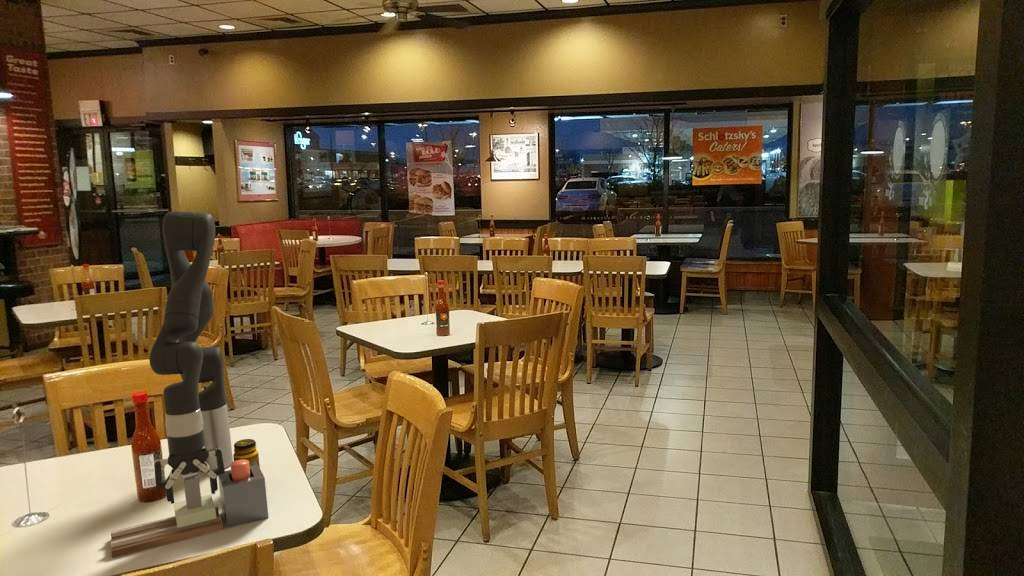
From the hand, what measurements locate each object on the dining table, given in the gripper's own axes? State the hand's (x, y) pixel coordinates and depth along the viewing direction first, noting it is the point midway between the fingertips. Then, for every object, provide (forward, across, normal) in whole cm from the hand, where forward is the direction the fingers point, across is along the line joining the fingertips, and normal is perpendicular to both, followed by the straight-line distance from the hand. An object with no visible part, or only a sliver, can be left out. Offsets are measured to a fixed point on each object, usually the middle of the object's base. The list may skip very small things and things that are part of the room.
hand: (193, 497), depth 161 cm
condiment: (+7, -13, -16) cm, 22 cm away
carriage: (+4, 0, 0) cm, 4 cm away
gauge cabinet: (+7, -11, 0) cm, 13 cm away
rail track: (+7, +6, 0) cm, 9 cm away
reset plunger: (0, -11, 0) cm, 11 cm away
